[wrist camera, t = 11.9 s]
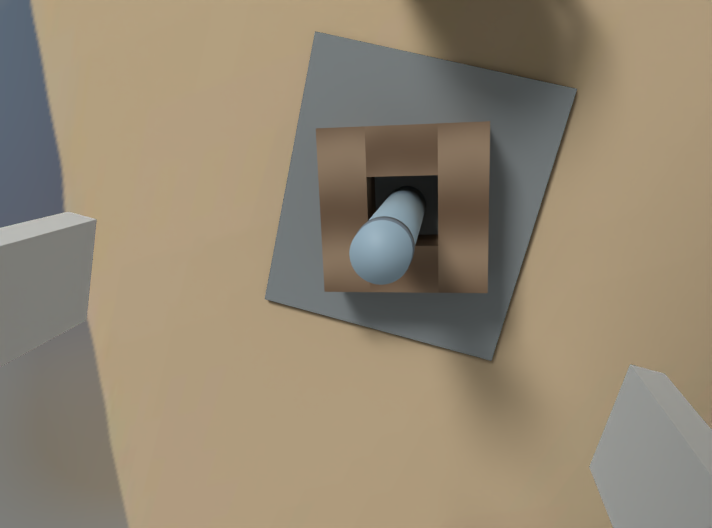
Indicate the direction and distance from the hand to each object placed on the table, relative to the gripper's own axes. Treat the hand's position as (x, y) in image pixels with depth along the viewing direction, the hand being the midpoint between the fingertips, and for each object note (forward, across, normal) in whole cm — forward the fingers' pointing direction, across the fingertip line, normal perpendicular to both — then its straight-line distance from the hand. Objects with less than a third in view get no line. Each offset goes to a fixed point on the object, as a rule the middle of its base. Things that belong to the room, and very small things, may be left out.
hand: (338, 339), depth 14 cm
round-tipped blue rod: (+28, 0, -1) cm, 28 cm away
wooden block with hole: (+28, 0, -1) cm, 28 cm away
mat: (+29, 0, -1) cm, 29 cm away
